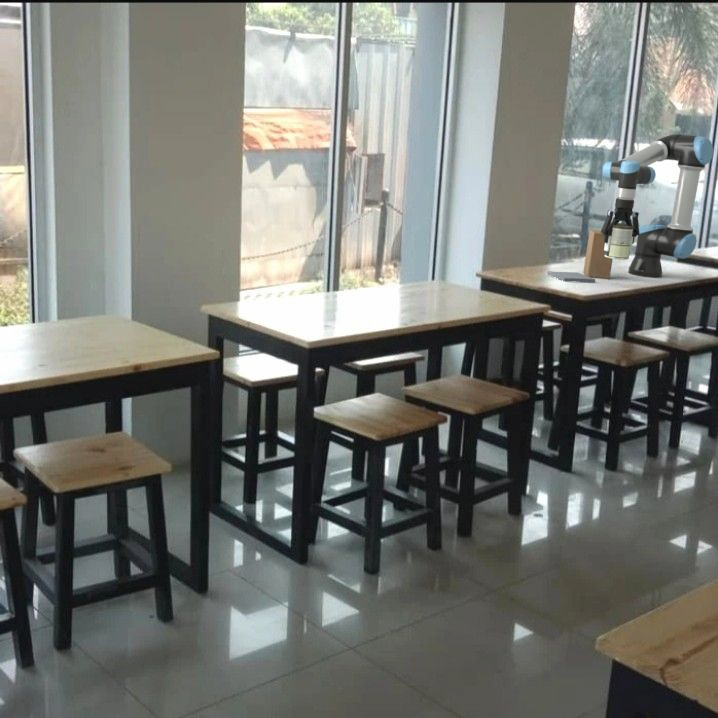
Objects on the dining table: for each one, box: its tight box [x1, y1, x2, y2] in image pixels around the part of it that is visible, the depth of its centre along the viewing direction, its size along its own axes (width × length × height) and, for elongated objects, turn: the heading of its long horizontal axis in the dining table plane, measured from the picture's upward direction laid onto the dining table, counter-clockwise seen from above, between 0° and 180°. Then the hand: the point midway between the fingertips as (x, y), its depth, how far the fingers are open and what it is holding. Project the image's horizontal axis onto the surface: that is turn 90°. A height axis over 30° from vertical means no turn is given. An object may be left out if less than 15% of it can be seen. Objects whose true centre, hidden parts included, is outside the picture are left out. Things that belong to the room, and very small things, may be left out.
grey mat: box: [546, 271, 596, 284], centre depth 452 cm, size 15×15×2 cm
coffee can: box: [604, 222, 634, 261], centre depth 439 cm, size 10×10×14 cm
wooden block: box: [582, 229, 614, 280], centre depth 462 cm, size 10×10×20 cm
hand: (617, 251), depth 440 cm, fingers closed on coffee can, 10 cm apart
